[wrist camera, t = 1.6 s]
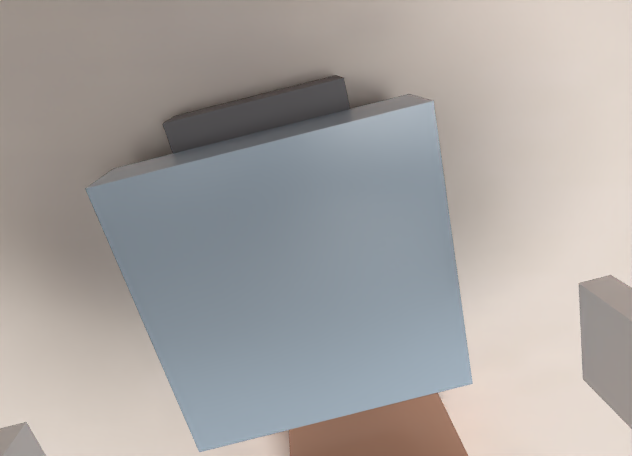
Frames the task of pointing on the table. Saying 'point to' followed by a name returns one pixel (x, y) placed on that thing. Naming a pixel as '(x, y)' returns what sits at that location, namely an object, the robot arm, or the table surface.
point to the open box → (383, 432)
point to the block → (256, 113)
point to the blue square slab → (294, 269)
